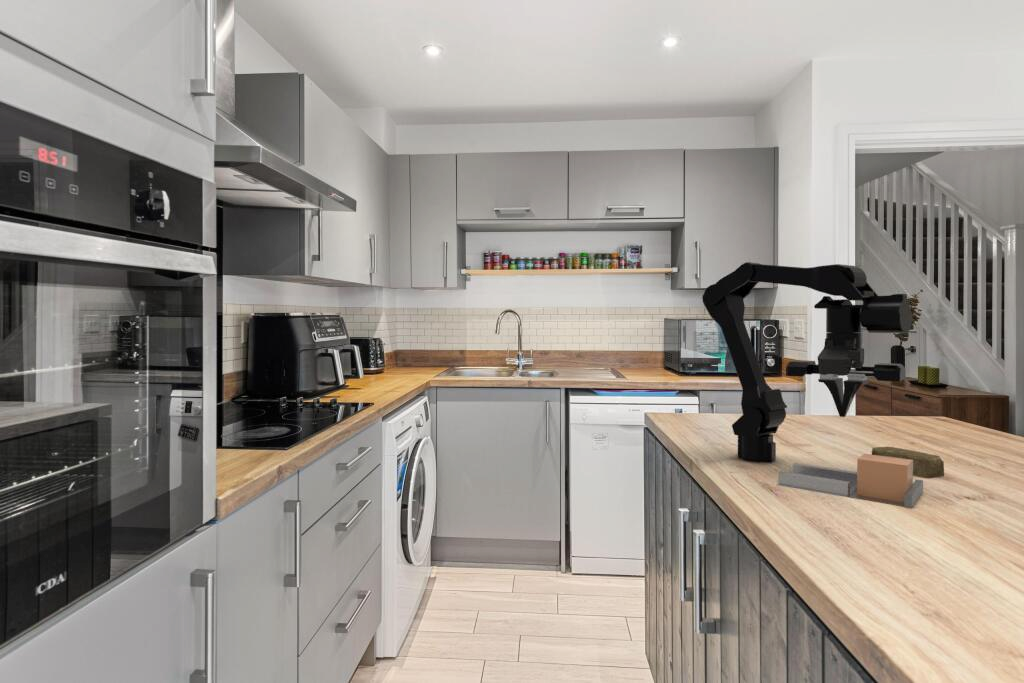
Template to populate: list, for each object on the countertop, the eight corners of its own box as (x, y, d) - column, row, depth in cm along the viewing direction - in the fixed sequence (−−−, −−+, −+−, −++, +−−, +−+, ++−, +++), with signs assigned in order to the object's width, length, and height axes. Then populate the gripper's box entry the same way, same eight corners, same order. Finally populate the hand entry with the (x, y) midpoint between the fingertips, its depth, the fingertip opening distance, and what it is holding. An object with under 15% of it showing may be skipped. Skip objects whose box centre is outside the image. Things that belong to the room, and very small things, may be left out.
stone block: (927, 485, 108) (928, 458, 108) (866, 471, 119) (866, 446, 118) (946, 481, 111) (946, 454, 111) (885, 468, 121) (885, 443, 121)
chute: (776, 490, 105) (776, 473, 105) (796, 477, 113) (796, 462, 113) (911, 514, 92) (912, 495, 91) (922, 498, 100) (923, 480, 100)
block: (857, 494, 99) (857, 458, 99) (864, 488, 103) (864, 453, 102) (906, 503, 94) (907, 465, 94) (912, 496, 98) (913, 459, 98)
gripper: (776, 333, 110) (775, 417, 111) (894, 334, 98) (893, 428, 98) (795, 332, 119) (794, 410, 119) (906, 332, 106) (905, 419, 107)
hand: (842, 416), depth 111 cm, fingers closed
